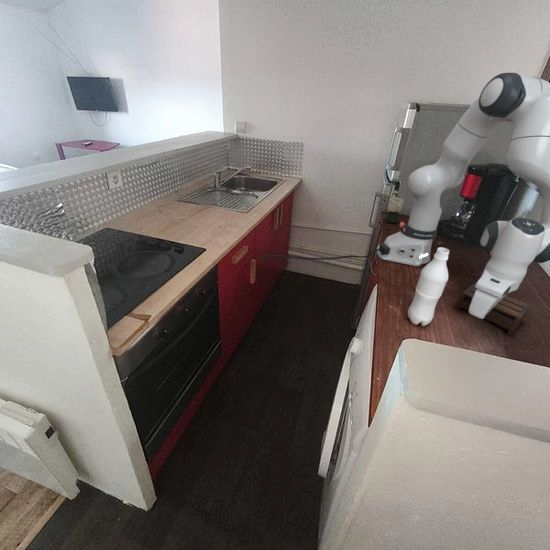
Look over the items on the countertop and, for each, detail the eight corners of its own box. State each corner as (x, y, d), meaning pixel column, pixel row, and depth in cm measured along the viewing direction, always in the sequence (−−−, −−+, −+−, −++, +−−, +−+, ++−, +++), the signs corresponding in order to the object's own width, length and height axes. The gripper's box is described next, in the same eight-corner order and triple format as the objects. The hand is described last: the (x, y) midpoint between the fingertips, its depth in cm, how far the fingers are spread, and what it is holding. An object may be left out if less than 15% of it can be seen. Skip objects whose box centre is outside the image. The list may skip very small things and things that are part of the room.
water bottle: (401, 313, 95) (424, 244, 82) (422, 312, 96) (448, 243, 83) (412, 328, 89) (438, 256, 76) (434, 327, 90) (464, 255, 77)
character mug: (401, 225, 160) (407, 202, 153) (388, 225, 160) (394, 202, 153) (393, 218, 169) (399, 196, 163) (381, 218, 169) (386, 196, 162)
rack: (509, 335, 88) (520, 319, 84) (454, 309, 98) (461, 293, 95) (521, 322, 93) (531, 305, 90) (468, 298, 104) (475, 282, 100)
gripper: (502, 262, 89) (483, 298, 96) (474, 284, 78) (456, 324, 85) (526, 270, 85) (505, 308, 92) (500, 295, 74) (479, 336, 81)
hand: (481, 316), depth 88 cm, fingers closed
